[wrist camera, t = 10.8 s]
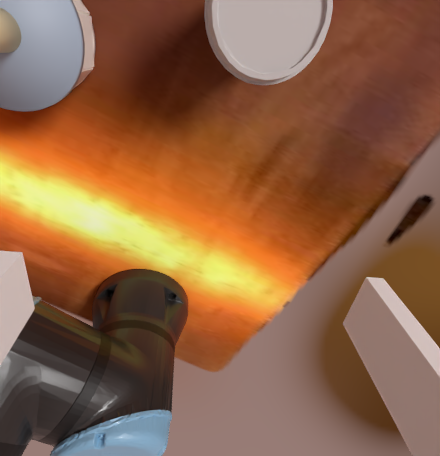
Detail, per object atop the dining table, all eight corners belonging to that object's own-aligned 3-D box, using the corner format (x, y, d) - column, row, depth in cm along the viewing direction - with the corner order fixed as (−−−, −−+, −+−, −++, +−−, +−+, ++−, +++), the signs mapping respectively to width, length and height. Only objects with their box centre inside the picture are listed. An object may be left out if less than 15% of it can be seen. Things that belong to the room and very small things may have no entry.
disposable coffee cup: (190, 56, 33) (188, 61, 22) (219, -56, 28) (232, -113, 18) (270, 86, 35) (301, 104, 25) (308, -13, 30) (366, -42, 20)
